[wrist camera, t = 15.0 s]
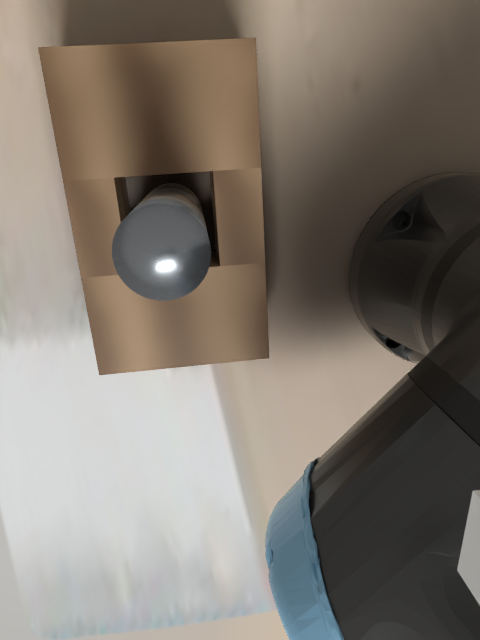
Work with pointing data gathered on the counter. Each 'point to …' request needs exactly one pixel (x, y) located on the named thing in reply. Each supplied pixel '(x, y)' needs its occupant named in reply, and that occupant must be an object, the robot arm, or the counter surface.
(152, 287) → the peg
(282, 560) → the robot arm
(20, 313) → the counter surface
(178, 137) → the socket block
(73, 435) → the counter surface
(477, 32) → the counter surface
